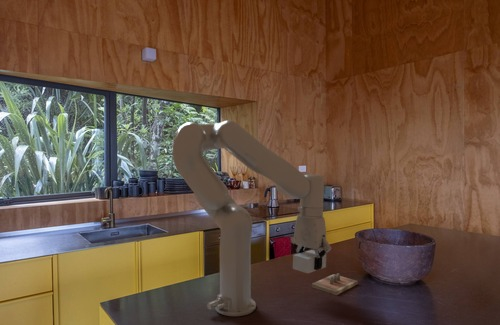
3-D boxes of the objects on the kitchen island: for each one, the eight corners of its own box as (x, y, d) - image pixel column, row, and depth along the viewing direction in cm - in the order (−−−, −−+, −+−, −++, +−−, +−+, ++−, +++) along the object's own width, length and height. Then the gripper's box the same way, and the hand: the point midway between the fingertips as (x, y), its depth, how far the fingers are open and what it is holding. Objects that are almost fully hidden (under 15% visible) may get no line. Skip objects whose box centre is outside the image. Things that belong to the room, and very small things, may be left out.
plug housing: (307, 273, 109) (308, 259, 109) (292, 268, 113) (293, 254, 113) (325, 267, 116) (326, 253, 116) (311, 262, 120) (311, 249, 120)
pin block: (336, 295, 116) (336, 284, 116) (311, 287, 123) (311, 276, 123) (357, 284, 126) (357, 274, 126) (333, 277, 133) (333, 267, 133)
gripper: (283, 209, 118) (282, 262, 118) (327, 217, 105) (325, 276, 105) (297, 207, 123) (295, 258, 123) (340, 214, 110) (338, 271, 111)
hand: (309, 266), depth 114 cm, fingers closed on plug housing, 6 cm apart
